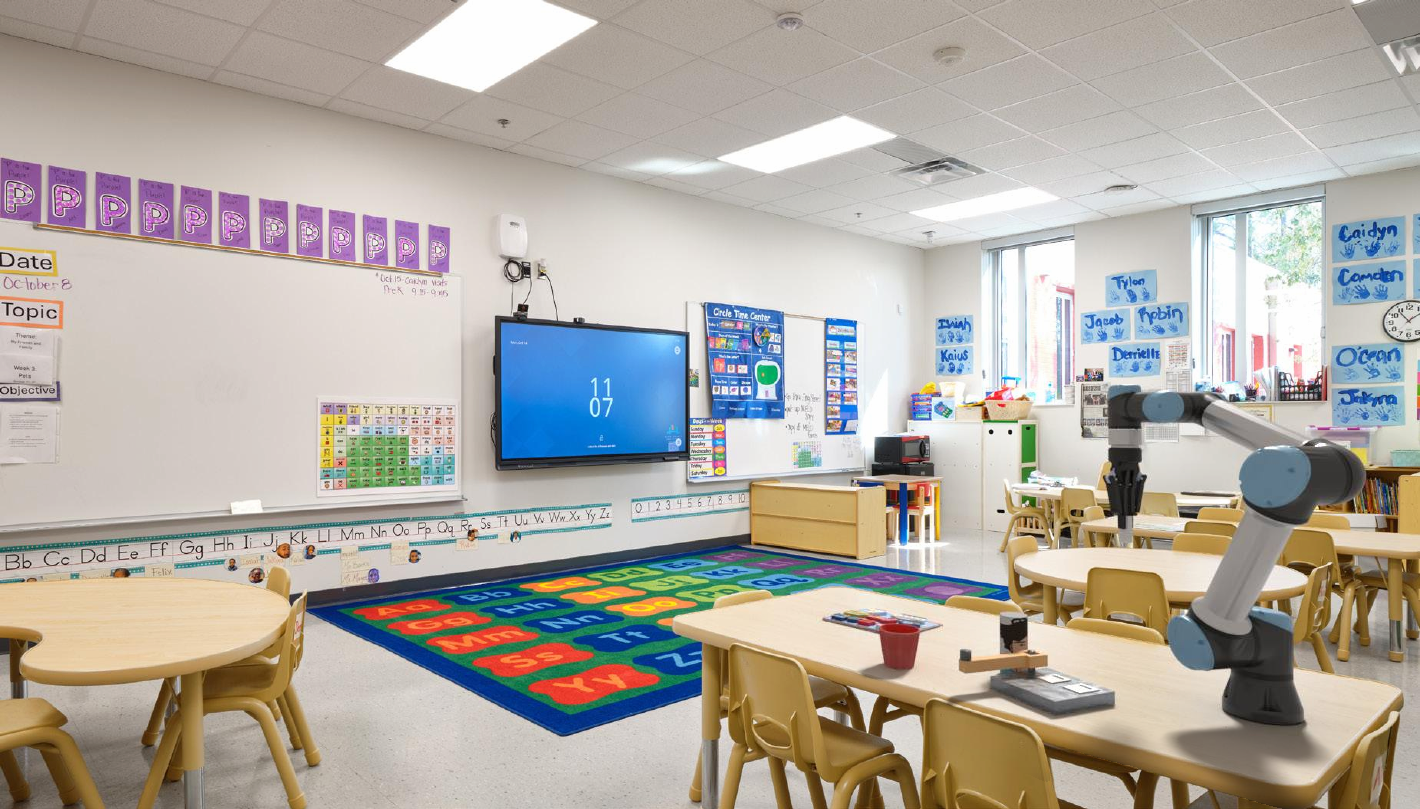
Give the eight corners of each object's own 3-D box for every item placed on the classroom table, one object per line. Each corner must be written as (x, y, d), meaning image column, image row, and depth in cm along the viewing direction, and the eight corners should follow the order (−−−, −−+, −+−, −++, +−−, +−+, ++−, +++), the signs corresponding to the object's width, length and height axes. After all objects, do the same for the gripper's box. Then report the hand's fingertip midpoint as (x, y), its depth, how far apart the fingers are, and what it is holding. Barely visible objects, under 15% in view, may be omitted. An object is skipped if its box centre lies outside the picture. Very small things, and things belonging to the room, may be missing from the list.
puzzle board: (943, 627, 264) (943, 619, 264) (900, 640, 249) (899, 631, 249) (866, 611, 287) (866, 603, 287) (821, 621, 271) (821, 613, 272)
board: (1114, 704, 190) (1114, 668, 190) (1055, 715, 183) (1054, 678, 183) (1046, 679, 208) (1046, 647, 209) (990, 688, 201) (990, 655, 201)
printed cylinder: (1014, 679, 209) (1014, 618, 209) (994, 672, 215) (993, 613, 215) (1033, 675, 212) (1033, 615, 212) (1012, 668, 218) (1012, 610, 218)
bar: (1032, 660, 208) (1032, 640, 209) (1047, 666, 204) (1047, 645, 204) (954, 669, 201) (954, 648, 201) (967, 675, 196) (967, 653, 196)
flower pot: (928, 664, 221) (927, 627, 221) (906, 673, 213) (906, 635, 213) (892, 656, 228) (892, 621, 229) (870, 665, 220) (870, 628, 221)
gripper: (1130, 446, 214) (1131, 538, 214) (1093, 446, 209) (1093, 541, 208) (1156, 446, 207) (1157, 542, 207) (1118, 447, 202) (1119, 545, 202)
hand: (1125, 541), depth 208 cm, fingers closed
